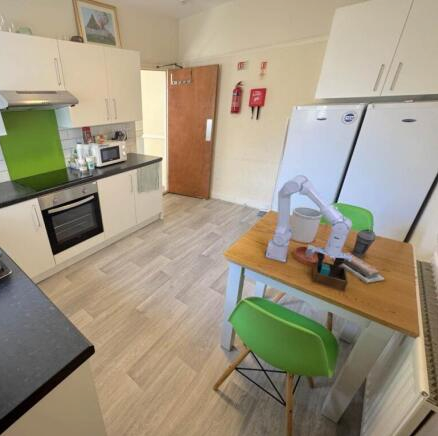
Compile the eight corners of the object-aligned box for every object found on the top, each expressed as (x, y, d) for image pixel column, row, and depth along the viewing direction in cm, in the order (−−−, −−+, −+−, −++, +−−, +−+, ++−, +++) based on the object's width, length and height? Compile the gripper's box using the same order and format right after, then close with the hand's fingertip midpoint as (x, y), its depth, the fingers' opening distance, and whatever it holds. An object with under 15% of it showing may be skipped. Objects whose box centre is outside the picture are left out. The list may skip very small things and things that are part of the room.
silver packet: (305, 256, 127) (307, 248, 124) (305, 252, 130) (307, 244, 128) (312, 258, 125) (314, 250, 123) (312, 253, 128) (315, 246, 126)
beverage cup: (363, 253, 128) (379, 220, 119) (368, 260, 122) (385, 227, 113) (347, 250, 131) (361, 218, 122) (350, 257, 125) (365, 224, 116)
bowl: (291, 261, 124) (293, 256, 122) (293, 248, 134) (295, 243, 133) (324, 270, 117) (326, 265, 116) (324, 255, 127) (325, 251, 126)
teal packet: (318, 276, 113) (321, 268, 110) (318, 270, 116) (321, 262, 114) (326, 278, 111) (330, 270, 109) (326, 273, 114) (329, 264, 112)
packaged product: (334, 252, 121) (350, 250, 123) (331, 260, 124) (347, 257, 125) (370, 275, 106) (388, 272, 107) (366, 284, 108) (383, 280, 110)
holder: (312, 282, 110) (316, 273, 107) (313, 268, 118) (316, 259, 116) (343, 291, 104) (347, 282, 102) (341, 276, 113) (345, 267, 110)
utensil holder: (287, 240, 141) (294, 214, 133) (285, 229, 153) (291, 204, 145) (316, 245, 136) (326, 218, 128) (311, 233, 148) (320, 207, 140)
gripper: (315, 243, 106) (307, 267, 112) (357, 253, 99) (345, 278, 105) (315, 236, 111) (307, 260, 117) (355, 245, 104) (344, 269, 110)
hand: (325, 268), depth 112 cm, fingers open, 4 cm apart
